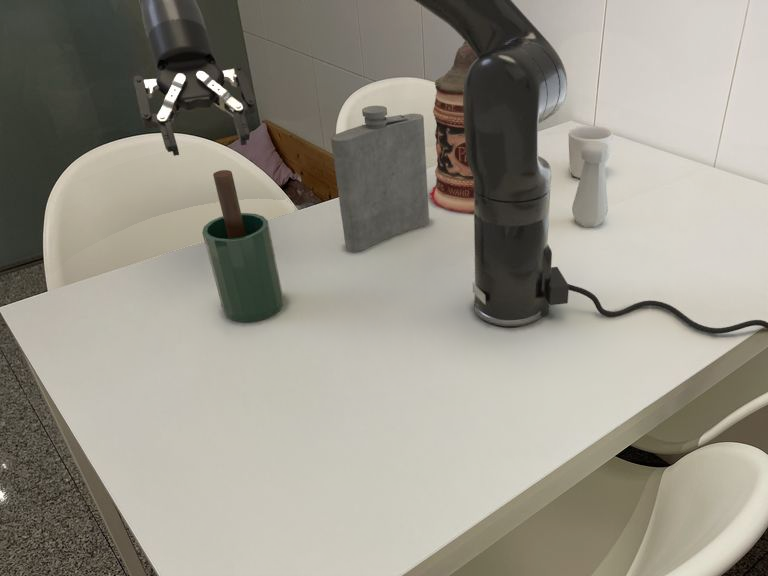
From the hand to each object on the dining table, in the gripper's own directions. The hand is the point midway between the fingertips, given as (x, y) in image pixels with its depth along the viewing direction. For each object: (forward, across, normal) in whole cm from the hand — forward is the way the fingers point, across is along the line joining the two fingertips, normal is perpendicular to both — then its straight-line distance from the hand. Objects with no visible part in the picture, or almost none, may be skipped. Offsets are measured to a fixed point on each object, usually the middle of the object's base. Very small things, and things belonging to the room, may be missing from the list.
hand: (210, 147), depth 90 cm
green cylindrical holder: (+20, 0, +8) cm, 21 cm away
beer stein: (+5, +44, +23) cm, 49 cm away
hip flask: (+11, +24, +17) cm, 31 cm away
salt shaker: (+19, +55, +9) cm, 59 cm away
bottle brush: (+19, 0, +7) cm, 20 cm away
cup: (+8, +65, +20) cm, 69 cm away
